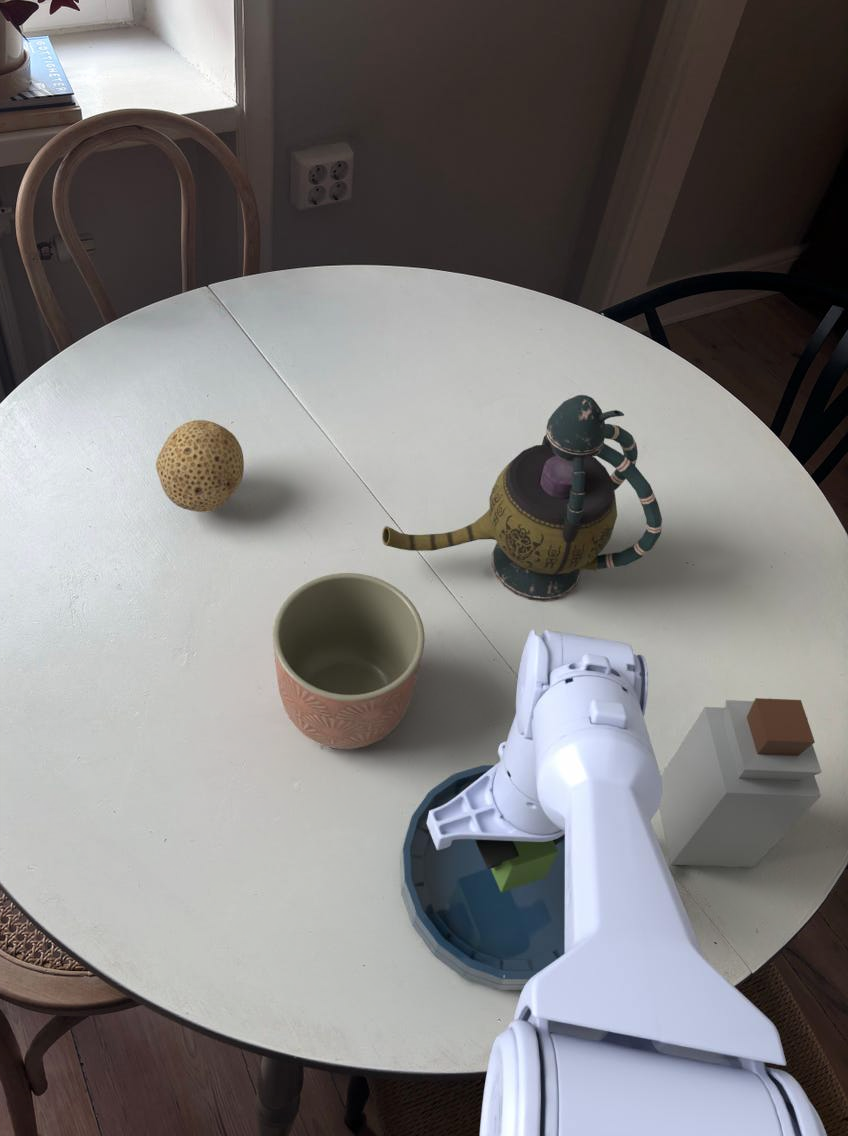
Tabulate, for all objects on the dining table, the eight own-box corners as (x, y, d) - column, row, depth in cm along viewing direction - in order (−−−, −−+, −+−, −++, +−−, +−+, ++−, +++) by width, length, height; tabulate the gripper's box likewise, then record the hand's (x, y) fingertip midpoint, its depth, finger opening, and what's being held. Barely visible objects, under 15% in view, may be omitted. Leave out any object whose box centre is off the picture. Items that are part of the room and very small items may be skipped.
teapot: (635, 611, 93) (711, 445, 75) (384, 617, 90) (403, 448, 73) (606, 518, 101) (669, 349, 83) (375, 522, 99) (390, 350, 81)
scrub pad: (545, 877, 69) (558, 851, 65) (500, 893, 68) (512, 867, 64) (516, 815, 72) (528, 786, 68) (473, 828, 71) (483, 801, 67)
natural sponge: (251, 528, 97) (247, 462, 90) (164, 539, 96) (152, 472, 88) (241, 466, 103) (236, 398, 96) (159, 475, 102) (147, 407, 94)
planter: (393, 781, 79) (403, 718, 71) (255, 741, 81) (250, 675, 73) (427, 661, 87) (439, 592, 79) (301, 627, 89) (301, 557, 81)
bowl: (641, 950, 71) (654, 935, 69) (445, 1024, 67) (451, 1012, 65) (548, 761, 81) (556, 742, 79) (372, 815, 77) (374, 797, 75)
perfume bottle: (752, 867, 76) (848, 767, 63) (670, 864, 76) (749, 763, 62) (732, 788, 81) (817, 679, 67) (654, 785, 80) (724, 675, 67)
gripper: (618, 679, 63) (575, 769, 73) (418, 738, 59) (402, 824, 70) (673, 773, 59) (619, 855, 69) (461, 843, 55) (436, 919, 65)
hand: (512, 846), depth 69 cm, fingers closed on scrub pad, 3 cm apart
